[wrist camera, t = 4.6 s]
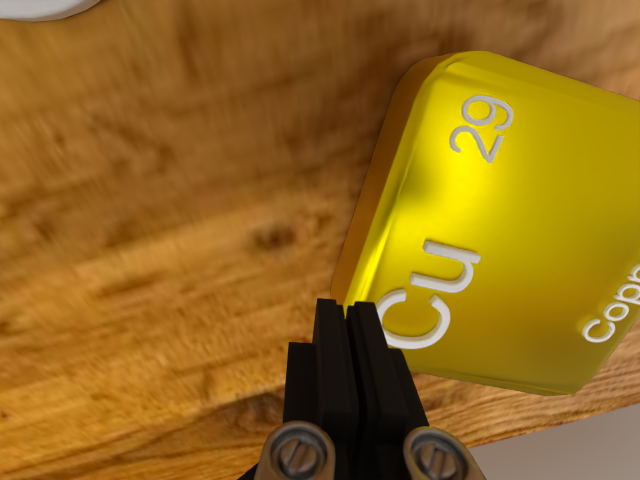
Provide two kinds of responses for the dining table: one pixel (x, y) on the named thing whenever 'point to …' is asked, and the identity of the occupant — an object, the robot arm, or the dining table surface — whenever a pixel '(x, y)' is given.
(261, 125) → the dining table surface
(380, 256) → the element tile
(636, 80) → the dining table surface
